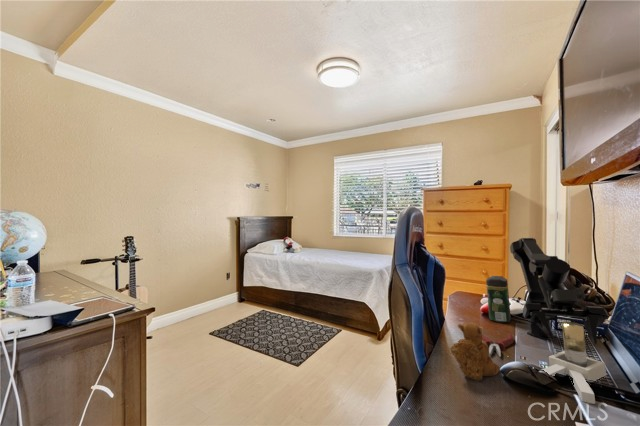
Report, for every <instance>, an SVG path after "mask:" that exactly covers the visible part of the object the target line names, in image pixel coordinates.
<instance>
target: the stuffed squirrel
mask: <svg viewBox="0 0 640 426" xmlns="http://www.w3.org/2000/svg"><path fill="white" fill-rule="evenodd" d="M457 327H458V329H459V330H460V331H461V332H462V333H463V339H458V341H457V342H455V343H453V345H451V346H450V347H449V349H450V354H452V356H454V359H455V360H456V362H457V363H458V366H459V367H460V369H461V372H462V374H463V375H464V377H466V378H468V379H472V380H473V381H478V382H480V381H482V379H483V377H492V376H496V375H497V374H498V373H499V372H500V369H501V368H500V365H499V364H498V363H496V362H494V361H493V359H492V358H491V356H490V355H489V348H488V345H487V344H486V342H485V341H482V335H484V336H486V334H485V332H484V331H483V330H484V328H483V327H482V326H480V325H478V324H477V323H475V322H472V321H471V322H470V321H469V322H466V323H464V324H460V323H459V324H457Z"/></svg>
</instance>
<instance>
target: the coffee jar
mask: <svg viewBox="0 0 640 426" xmlns="http://www.w3.org/2000/svg"><path fill="white" fill-rule="evenodd" d="M485 282H486V294H487V295H486V298H487V307H488V318H489V320H491V321H494V322H496V323H510V321H511V317H512V315H511V308H510V295H509V294H510V292H509V286H508V279H507V278H505V277H504V276H501V275H492V276H489V277H487V278H486V279H485Z"/></svg>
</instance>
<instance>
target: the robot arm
mask: <svg viewBox="0 0 640 426" xmlns="http://www.w3.org/2000/svg"><path fill="white" fill-rule="evenodd" d="M509 249H510V250H509V251H510V253H511V254H512V256H513V259H515V261H517V262H518V263H519V264H520V267H521V270H522V274H523V278H524V282H525V285H526V288H527V292H528V295H527V298H526V300H525V303H524V305H523V309H522V316H523V318H524V319H525V320H529V322H530V323H529V324H530V331H527V332H526V334H527V335H530V336H534V337H537V338H539V339H543V340H551V341H554V340H555V338H556V337H557V334H555V333H553V332H552V325H551V321H554V322H557V321H558V317H570V318H581V319H582V321H583V322H584V324H583V327H584V328H585V330H586V332H587V334H588V337H589V339H590V341H591V343H592V344H593V345H597V343H598V340H597V339H598V335H597V331H598V330H597V329H598V327H599V326H600V325H603V324H604V323H605V321H606V319H608V317H609V314H608V312H607V310H606V309H605V308H604V307H602V306H595V305H594V306H592V305H585V307H584V308H583V309H582V310H578V309H574V308H576V306H577V304H576V303H579V301H583V300H585V299H586V295H585V294H586V293H585V292H584V290H583V288H581V287H574V288H572V289H565V287H564V284H563V283H565V282H566V280H567V277H568V275H569V273H570V270H571V265H570V264H569V263H568V262H567V261H565V260H563V259H560V258H559V257H558V256H557V255H547V254H545V253H544V252H543V250H542V249H541V248H540V246H539V244H538V243H537V239H536V238H534V237H522V238H519V239H518V240H516V241H513V242H512V243H511V244H510V246H509Z"/></svg>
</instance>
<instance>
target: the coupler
mask: <svg viewBox="0 0 640 426" xmlns="http://www.w3.org/2000/svg"><path fill="white" fill-rule="evenodd" d="M561 327H562V338H563V348H564V349H563V351H565V361H567V362H570V363H573V364H575V365H578V366H581V367H584V368H586V367H588V366H587V350H586V347H587V346H586V339H585V329H584V328H585V326H584V324H582V323H578V322H574V321H562V322H561Z"/></svg>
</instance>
